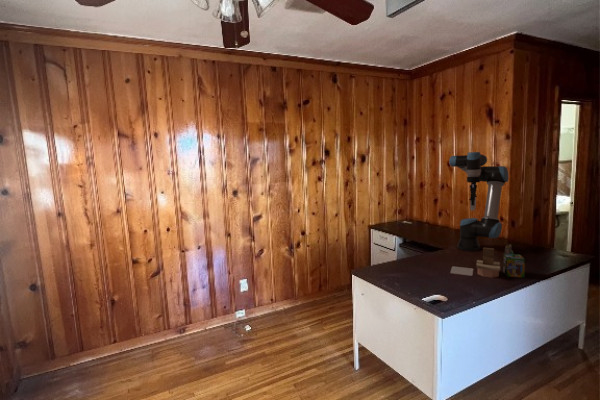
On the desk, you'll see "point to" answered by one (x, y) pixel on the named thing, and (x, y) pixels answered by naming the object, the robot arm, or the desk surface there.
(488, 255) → the tan wooden stand
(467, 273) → the mat
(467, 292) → the desk surface
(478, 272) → the bowl
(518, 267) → the green labelled jug
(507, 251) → the ruin model on sheet
